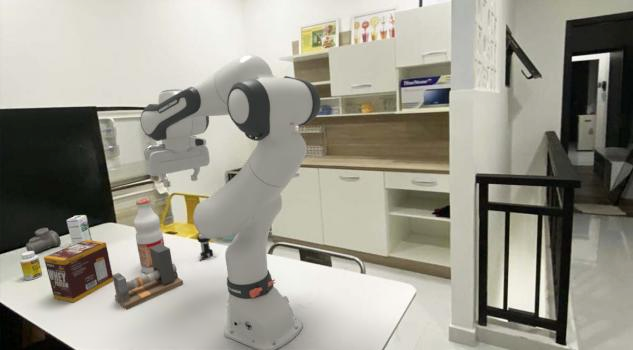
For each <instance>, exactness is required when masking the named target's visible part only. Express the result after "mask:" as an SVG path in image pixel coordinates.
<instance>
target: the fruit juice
mask: <svg viewBox="0 0 633 350" xmlns="http://www.w3.org/2000/svg"><path fill="white" fill-rule="evenodd" d="M135 204H136V206H137V214H136V216H135V218H134V221H133V227H134V230H135V231H136V234H135V240H136V241H135V242H136V247H137V252H138V257H139V262H140V266H141V271H142V272H143V273H146V274H148V273H151V272H153V271H154V270H153V264H152V259H151V253H150V248H151V247H154V246H156V245H159V244H162V245H164V246H166V245H165V240H164V235H163V230H162V228H161V227H160V226H161V221H160V220H161V219H160V217H159V215H158V214H157V213H156V212H155V211H154V210H153V208H152V206H151V204H152V201H151V199H150V198H141V199H138V200H136V201H135Z"/></svg>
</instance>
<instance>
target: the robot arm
mask: <svg viewBox="0 0 633 350" xmlns="http://www.w3.org/2000/svg"><path fill="white" fill-rule="evenodd" d="M157 102H158V103H149V104H148V105H147V106H145V108H144V109H143V110H142V112H141V114H140V127H141V129H142V131H143V133H144V134H145V135H146V136H148V137H149V138H151V139H152V140H153V141H156V142H160V141H161V144H160V143H159V144H155V145H149V146H148V147H146V149H144V151H143V152H144V153H143V154H144V159H145V173H146V174H147V175H149V176H150V177H158V178H159V179H160V180H161V181H162V182H163V187H164V188H169V187H171V181H169V180H167V179H166V178H167V175H168V174H174V173H177V172H182V171H187V170H188V171H189V170H191V169H192V170H193V173H192V174H191V175H190V179H191V181H192V182H196V181H198V179H199V178H198V176H199V173H200V171H201V168H202V167H207V166H209V164H210V161H211V160H210V159H211V158H210V152H209V149H208V147H207V139H205V138H202V137H200V136H196V135H201V134H204V133H205V132H206V131H207V129H208V127H209V125H210V117H214V116H216V117H217V116H229V117H230V119H231V121H232V122H233V123H234V124H235V127H236V128H238V130H240V132H242V133H244V135H245V136H246V137H247V139H250V140H251V141H255V142H257V144H256V146H255V148H254V150H252V152H251V153H250V155H249V157H248V158H247V160H246V162H245V163H244V165H243V166H242V168H241V169H240V170H239V172H237V174H236V175H234V176H233V177H232V178H231V179H230V180H229V181H228V182H226V183H225V184H224V185H223V186H221V187H220V188H219V189H218V190H217V191H216V192H214V193H213V194H212V195H210V196H209V197H208V198H207V197H206V198H205V199H204V200H202V201H200V202H198V203H197V205H196V206H195V207H194V211H193V214H192V215H193V216H192V218H193V224H194V227H195V229H196V230H197V232H198V234H199V235H200V234H201V235H202V236H204V237H205V238H208V239H210V240H211V239H212V240H213V239H218V238H219V239H220V238H225V237H229V236H232V235H234V234H235V236H234V238H233V240H232V241H231V242H230V243H229V245H228V246H227V248H226V250H225V256H224V257H225V263H226V264H225V265H226V271H227V272H226V273H227V277H226V287H227V291H228V293H229V295H228V300H227V303H226V327H225V329H224V336H225V337H226V338H228V339H231V340H233V341H236V342H239V343H241V344H243V345H245V346H248V347H250V348H253V349H255V350H277V349H280V348H282V347H283V346H285V345H287V344H288V343H289V342H291V341H292V340H294V339H295V338H296V336H297V335H299V333H300V332H301V331H302V329H303V326H304V324H303V321H302V320H301V319H299V318H298V317H297V316H296V315H295V314H294V313H293V310H292V307H291V305H290V302H289V301H290V300H289V297H288V296H286V295H284V296H283V295H282V294H281V292H279V290H278V289H277V287H275V285H274V284H275V283H276V282H275V279H273V278H272V275H271V273H270V270H269V269H268V260H267V259H268V256H267V244H268V238H269V235H270V231H271V228H272V225H273V222H274V221H275V219H276V217H277V216H278V214H279V213H280V212H281V210H282V207H283V205H282V204H283V199H282V195H281V193H283V191H284V189H286V187H287V186H288V184H290V182H291V180H292V179H293V178H294V177H295V175H296V174H297V172H298V171H299V169H300V167H301V165H302V164H303V161H304V160H305V157H306V156H307V155H306V153H307V144H306V141H305V139H304V138H303V136H302V135H301V134H300V133H299V132H298V131H297V129H296V127H298V126H299V127H300V126H304V125H306V124H308V123H311V122H312V121H314V120H315V119H316V118H317V117H318V114H319V113H320V110H321V96H320V92H319V91H318V89H317V87H316V86H315V85H314V84H312V83H311V82H309V81H307V80H304V79H300V78H297V77H292V76H287V75H285V76H284V77H278V76H277V77H276V76H274V75H273V72H272V69H271V67H270V66H269V64H268V63H267V62H266V61H265V59H263V58H262V57H260V56H258V55H254V54H246V55H243V56H241V57H238V58H236V59H234V60H232V61H230V62H228V63H226V64H224V66H222V67H221V68H220V69H218V70H217V71H216V72H214V73H213V74H211V75H209V76H207V77H205V78H204V79H203V80H200V81H199V82H197V83H195V84H193V85H191V86H190V87H187V88H186V89H169V90H168V89H165V90H162V91H161V92H160V93H159V94H158V101H157Z"/></svg>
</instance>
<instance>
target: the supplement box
mask: <svg viewBox="0 0 633 350" xmlns="http://www.w3.org/2000/svg"><path fill="white" fill-rule="evenodd" d="M109 257H110V256H109V252H108V246H107V242H105V241H99V240H98V241H97V240H92V241H91V240H84V241H82V242H80V243H77V244H75V245H73V244H72V245H70V246H68V247H66V248H63V249H60V250H57V251H55V252H53V253H51V254H48V255H46V256H44V257H43V260H44V264H45V268H46V272H47V276H48V279H49V283H50V287H51V291H52V295H53V299H57V300H60V301H65V302H70V303H76V302H78V301H79V300H82V299H83V298H85V297H87V296H89V295H91V294H93V293H94V292H96V291H97V290H99V289H101V288H103V287H105V286H107V285H109V284H110V283H112V282H114V281H113V277H112V275H113V271H112V266H111V261H110V258H109Z"/></svg>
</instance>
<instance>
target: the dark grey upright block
mask: <svg viewBox="0 0 633 350" xmlns="http://www.w3.org/2000/svg"><path fill="white" fill-rule="evenodd" d="M164 245H165V244H164ZM164 245H162V244H159V245H156V246H154V247H151V248H150V253H151V259H152V264H153V270H154V271H156V270H160V275H161V278H159V279H157V281H159V282H160V283H162V284H163V285H165V284H168V283H170V282H172V281H174V280H175V277H174V271H173V265H172V264H173V260H172V254H171V248H170V247H168V246H166V245H165V246H164Z"/></svg>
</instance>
